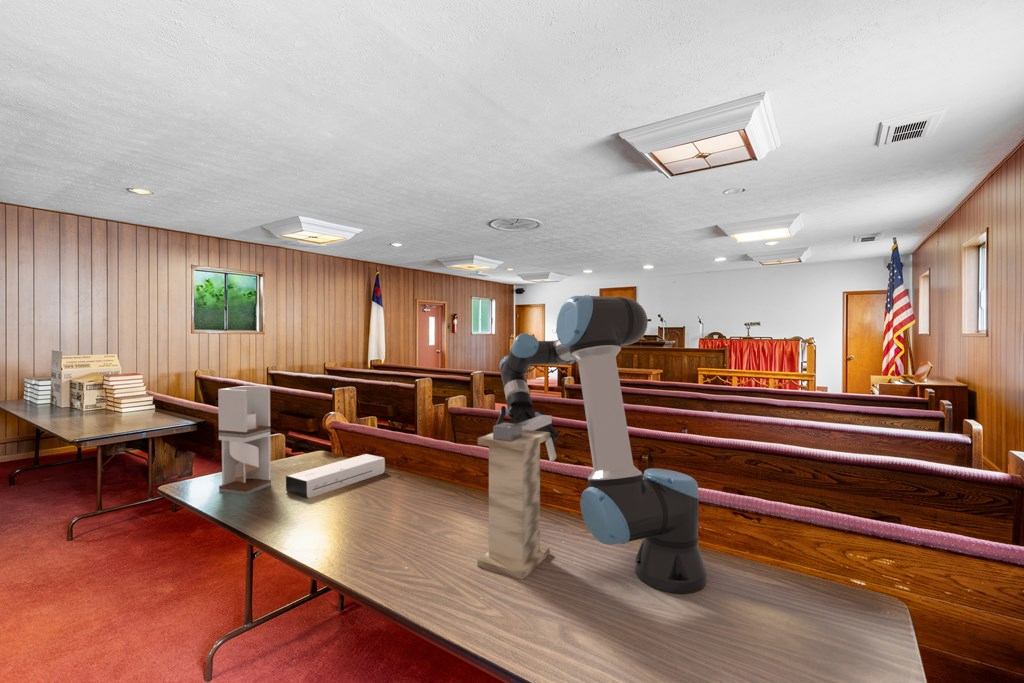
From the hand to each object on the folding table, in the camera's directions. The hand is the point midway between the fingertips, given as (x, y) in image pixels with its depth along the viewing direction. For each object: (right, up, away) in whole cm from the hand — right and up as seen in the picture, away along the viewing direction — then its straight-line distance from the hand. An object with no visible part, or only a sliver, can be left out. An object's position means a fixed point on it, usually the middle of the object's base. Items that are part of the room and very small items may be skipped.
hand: (531, 458), depth 129 cm
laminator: (-69, -19, +41) cm, 83 cm away
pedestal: (-5, -20, -17) cm, 27 cm away
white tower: (-98, -19, +33) cm, 105 cm away
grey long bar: (-2, +10, -12) cm, 16 cm away
